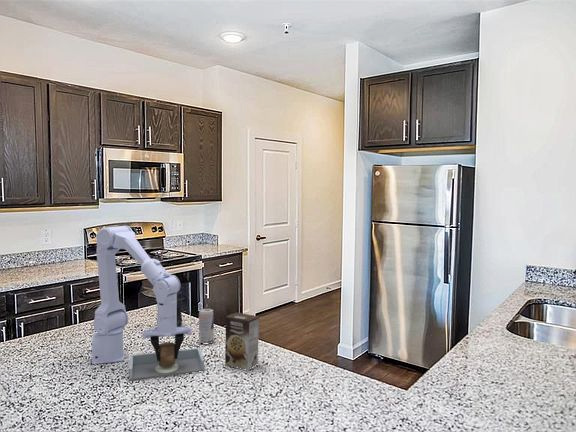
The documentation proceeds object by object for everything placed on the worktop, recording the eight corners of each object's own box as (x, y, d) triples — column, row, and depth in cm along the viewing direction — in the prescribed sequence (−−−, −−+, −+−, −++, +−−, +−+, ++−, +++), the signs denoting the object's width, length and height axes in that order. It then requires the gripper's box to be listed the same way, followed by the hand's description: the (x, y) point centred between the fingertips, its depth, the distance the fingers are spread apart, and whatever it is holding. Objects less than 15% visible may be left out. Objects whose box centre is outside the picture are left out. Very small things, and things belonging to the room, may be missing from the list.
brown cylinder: (159, 367, 126) (159, 348, 126) (158, 362, 130) (158, 343, 130) (175, 366, 127) (175, 346, 127) (174, 360, 132) (174, 341, 132)
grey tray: (129, 381, 121) (129, 369, 121) (130, 366, 131) (130, 355, 131) (204, 371, 128) (204, 360, 128) (199, 358, 138) (199, 347, 138)
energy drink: (215, 340, 156) (215, 308, 155) (211, 345, 150) (211, 312, 150) (201, 339, 156) (201, 308, 156) (196, 344, 151) (197, 312, 150)
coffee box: (224, 365, 133) (224, 316, 132) (235, 359, 138) (236, 311, 138) (248, 372, 128) (248, 320, 128) (259, 364, 134) (259, 315, 133)
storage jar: (155, 326, 171) (155, 290, 170) (179, 323, 175) (179, 288, 174) (158, 333, 162) (158, 296, 161) (184, 330, 166) (184, 294, 165)
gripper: (142, 321, 122) (142, 366, 122) (192, 317, 126) (192, 361, 127) (142, 314, 128) (142, 357, 129) (190, 311, 133) (189, 352, 134)
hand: (167, 358), depth 129 cm, fingers closed on brown cylinder, 4 cm apart
